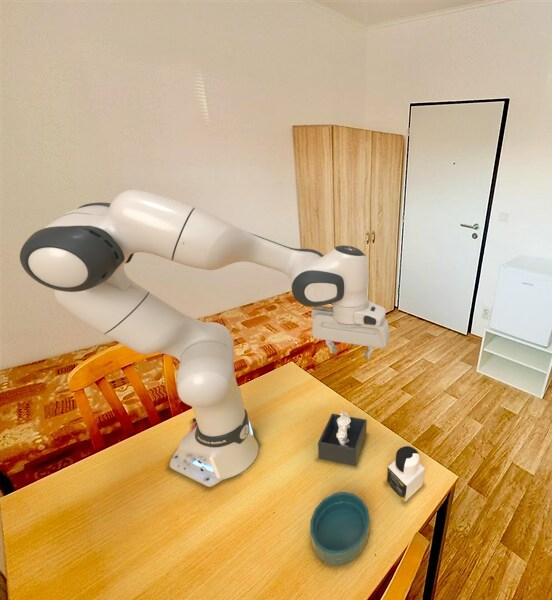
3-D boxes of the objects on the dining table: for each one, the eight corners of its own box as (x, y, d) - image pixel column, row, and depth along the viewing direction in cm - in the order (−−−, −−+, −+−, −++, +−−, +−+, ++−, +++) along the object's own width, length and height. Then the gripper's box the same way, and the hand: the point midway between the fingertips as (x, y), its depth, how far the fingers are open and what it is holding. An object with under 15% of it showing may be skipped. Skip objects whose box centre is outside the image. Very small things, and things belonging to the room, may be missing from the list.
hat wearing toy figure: (340, 432, 100) (339, 403, 94) (352, 433, 100) (352, 404, 94) (334, 457, 92) (333, 427, 86) (348, 458, 92) (347, 428, 86)
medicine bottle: (386, 483, 86) (388, 453, 81) (404, 467, 91) (407, 437, 86) (404, 502, 82) (408, 472, 76) (423, 485, 86) (427, 455, 81)
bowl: (301, 558, 69) (300, 546, 67) (324, 499, 81) (323, 487, 79) (360, 572, 68) (360, 560, 66) (374, 510, 80) (375, 498, 77)
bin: (318, 458, 92) (317, 442, 89) (332, 428, 101) (331, 413, 99) (356, 466, 90) (356, 450, 87) (366, 434, 100) (366, 419, 97)
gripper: (305, 310, 78) (309, 356, 84) (386, 321, 76) (384, 367, 82) (316, 299, 84) (318, 343, 90) (391, 309, 81) (389, 353, 87)
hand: (350, 355), depth 86 cm, fingers open, 8 cm apart
